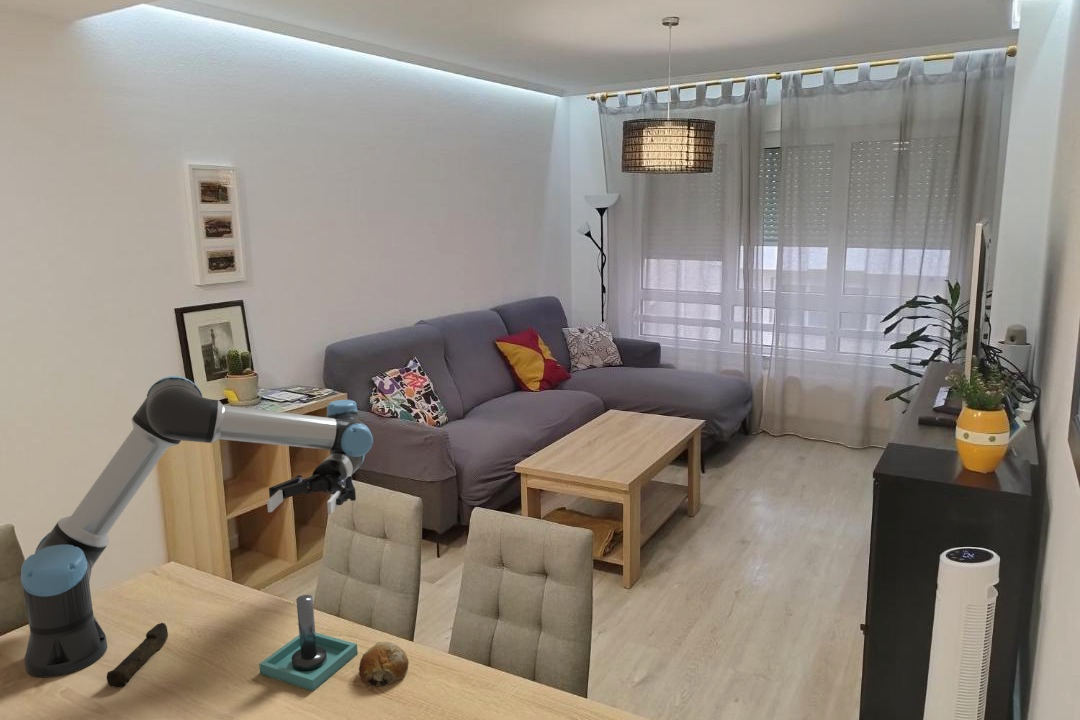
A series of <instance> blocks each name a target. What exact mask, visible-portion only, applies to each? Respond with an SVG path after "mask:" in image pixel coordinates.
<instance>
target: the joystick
mask: <svg viewBox="0 0 1080 720" xmlns="http://www.w3.org/2000/svg"><path fill="white" fill-rule="evenodd" d="M313 600H314V599H313V596H312V595H311V594H303V595H300V596H298V597H297V598H296V609H297V610H296V613H297V623H298V624H297V625H298V635H299V637H300V649H299V650H298V651H296V652H295V653H294V654H293V656H292V666H293V668H294V669H295V670H297V671H302V672H307V671H313V670H316V669H318V668H320V667H322V666H323V665H324V664H325V663H326V661H327V655H326V650H325V649H324V648H322V647H319V646H316V635H315V632H316V626H315V625H316V624H315V613H314V601H313Z"/></svg>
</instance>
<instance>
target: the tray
mask: <svg viewBox="0 0 1080 720" xmlns="http://www.w3.org/2000/svg"><path fill="white" fill-rule="evenodd" d="M315 635H316V646H319V647H322V648H324V649H325V650H326V655H327V661H326V663H325V664H324V665H323V666H322V667H320V668H318V669H316V670H313V671H307V672H302V671H297V670H295V669H294V668H293V666H292V656H293V654H294V653H295V652H296V651H298V650H299V649H300V637H299V634H298V635H296V636H295V637H294V638H293V639H291V640H290V641H288V642H287V643H286V644H284V645H283V646H282V647H280V648H279V649H277V650H276V651H275V652H273V653H271V654H270V655H269V656H268V657H266V658H265V659H264V660H262V661H261V662H259V664H258V665H259V666H258V667H259V674H260V675H262V676H265V677H269V678H271V679H274V680H278V681H279V682H280V681H281V682H284V683H287V684H289V685H293V686H296V687H300V688H303V689H306V690H309V691H312V692H314V691H315V690H316V689H318V688H319V687H320V686H322V685H323V684H324V683H325V682H326V681H328V680H329V679H330V678H331V677H333V676H334V674H336V673H337V672H338V671H340V670H341V669H342V668H343V667H344V666H345V665H347V664H348V663H349V662H350V661H351V660H353V659H354V658H356V656H358V654H359V652H358V644H357V643H355V642H351V641H347V640H344V639H341V638H336V637H333V636H330V635H327V634H322V633H319V632H316V631H315Z"/></svg>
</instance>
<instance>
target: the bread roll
mask: <svg viewBox="0 0 1080 720" xmlns="http://www.w3.org/2000/svg"><path fill="white" fill-rule="evenodd" d="M409 663H410V662H409V659H408V656H407V654H406V652H405V650H403V649H402V648H401V647H400V646H399V645H397V644H395V643H393V642H388V641H378V642H377V643H376V644H375V645H373V646H371V647H370V648H369V649H368V650H367V651H365V652H364V653H363V655H362V657H361V658H360V662H359V667H358V670H359V672H358V673H359V679H361V681H362V682H363V683H364V684H366V685H370V686H372V687H379V688H380V687H384V686H390V685H393V684H394V683H396V682H399V681H401V680H402V679H403V678H405V676H406V674H407V671H408V669H409Z"/></svg>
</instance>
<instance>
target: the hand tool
mask: <svg viewBox="0 0 1080 720" xmlns="http://www.w3.org/2000/svg"><path fill="white" fill-rule="evenodd" d="M168 637H169V633H168V627H167V625H166V623H164V622H160V623H157V624H155V626H153V627H152V628H151V629H149V630H148V631H147V632H146V633H145V638H144V640H143V641H142V642H141V643H140V644H139V645H138V646H136V648H135V649H133V651H131V653H129V654H128V655H127V656H126V657H125V658H124V659H123V660H122V661H121V662H120V663H119V664H118V665H117V666H116V667H115V668H114V669H112V670H110V671H108V672H107V674H106V681H107V685H108V686H109V687H111V688H117V689H118V688H123V687H125V686H126V684H127V683H128V682H130V680H131V679H130V678H131V677H132V676H133V675H134V674H135V673H136V671H138V670H139V669H140V668H141V667H142V666H143V665H144V663H146V661H148V659H149V658H150V657H151V656H152V655H153V654H154V653H156V652H159V651H160V650H161V649H162V648H163V647H164V646H165V643H166V642H167V639H168Z"/></svg>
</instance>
